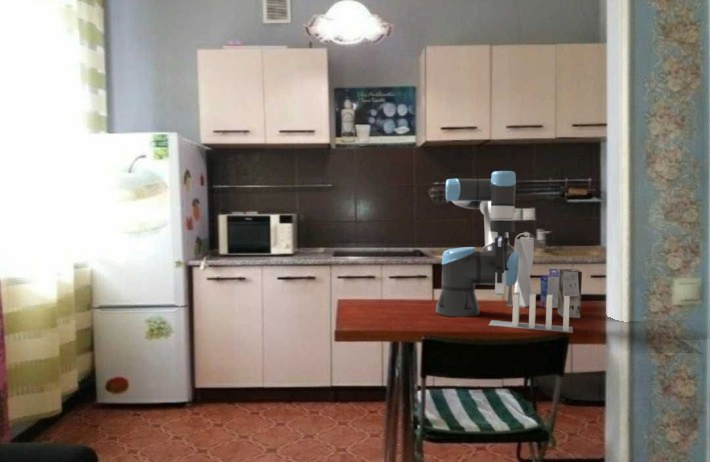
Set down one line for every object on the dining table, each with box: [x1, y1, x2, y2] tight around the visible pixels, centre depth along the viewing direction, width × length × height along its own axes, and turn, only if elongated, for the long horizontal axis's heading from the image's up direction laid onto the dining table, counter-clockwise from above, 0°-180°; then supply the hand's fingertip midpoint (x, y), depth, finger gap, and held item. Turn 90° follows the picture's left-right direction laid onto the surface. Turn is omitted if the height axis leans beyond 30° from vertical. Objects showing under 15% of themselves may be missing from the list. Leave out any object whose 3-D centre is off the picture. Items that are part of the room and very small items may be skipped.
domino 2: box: [528, 293, 537, 328], centre depth 173 cm, size 2×5×10 cm, turn 159°
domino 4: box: [562, 296, 570, 331], centre depth 170 cm, size 2×5×10 cm, turn 159°
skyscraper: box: [506, 232, 535, 309], centre depth 211 cm, size 8×8×28 cm
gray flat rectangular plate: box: [488, 319, 574, 334], centre depth 174 cm, size 25×8×1 cm, turn 69°
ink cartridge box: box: [540, 268, 559, 309], centre depth 209 cm, size 10×6×14 cm, turn 104°
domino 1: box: [511, 292, 520, 327], centre depth 175 cm, size 2×5×10 cm, turn 159°
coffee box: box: [557, 268, 583, 319], centre depth 194 cm, size 9×6×16 cm
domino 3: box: [545, 295, 553, 330], centre depth 172 cm, size 2×5×10 cm, turn 159°
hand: (500, 291), depth 177 cm, fingers closed on teal domino, 5 cm apart
